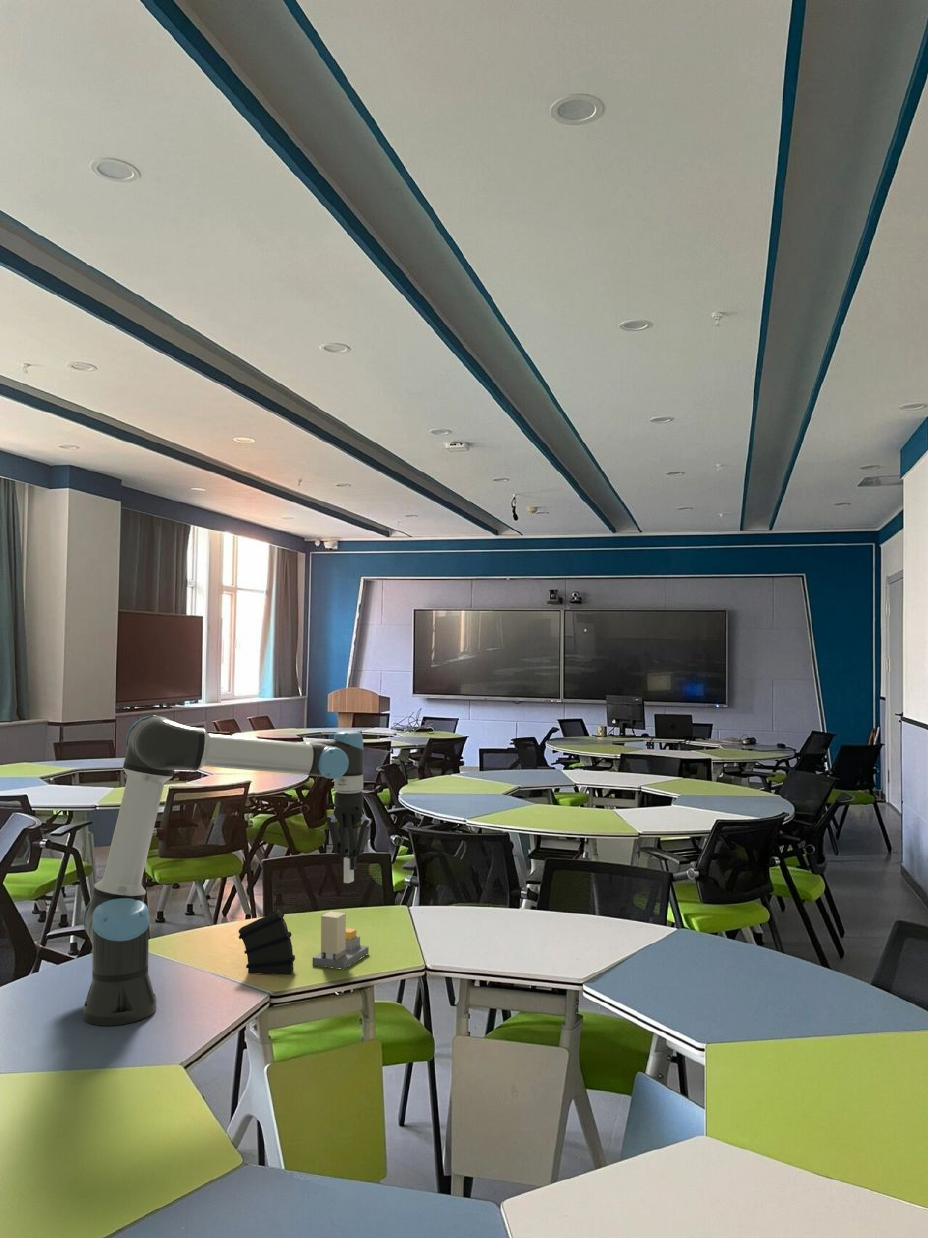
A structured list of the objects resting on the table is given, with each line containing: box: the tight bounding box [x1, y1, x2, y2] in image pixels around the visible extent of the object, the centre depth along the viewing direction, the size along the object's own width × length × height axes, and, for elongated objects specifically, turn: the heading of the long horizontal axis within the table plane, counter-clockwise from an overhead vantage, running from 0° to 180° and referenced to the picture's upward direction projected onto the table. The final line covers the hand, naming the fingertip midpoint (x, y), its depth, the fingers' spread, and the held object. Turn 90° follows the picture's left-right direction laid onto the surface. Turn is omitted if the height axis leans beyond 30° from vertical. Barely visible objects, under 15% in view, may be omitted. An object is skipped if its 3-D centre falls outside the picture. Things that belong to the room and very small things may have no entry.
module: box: [320, 910, 347, 960], centre depth 241 cm, size 5×4×10 cm
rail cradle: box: [312, 935, 370, 970], centre depth 244 cm, size 9×13×4 cm
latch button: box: [346, 927, 357, 940], centre depth 248 cm, size 3×3×3 cm
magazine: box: [238, 909, 296, 975], centre depth 235 cm, size 4×13×15 cm, turn 88°
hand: (348, 881), depth 248 cm, fingers closed
